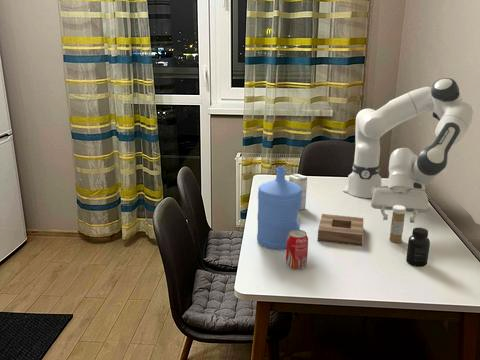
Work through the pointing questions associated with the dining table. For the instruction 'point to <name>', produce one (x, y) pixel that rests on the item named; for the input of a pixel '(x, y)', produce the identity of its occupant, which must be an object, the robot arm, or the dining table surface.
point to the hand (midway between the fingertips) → (398, 220)
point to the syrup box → (302, 183)
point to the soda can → (296, 249)
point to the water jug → (277, 211)
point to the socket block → (341, 229)
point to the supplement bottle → (418, 248)
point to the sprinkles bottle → (397, 223)
